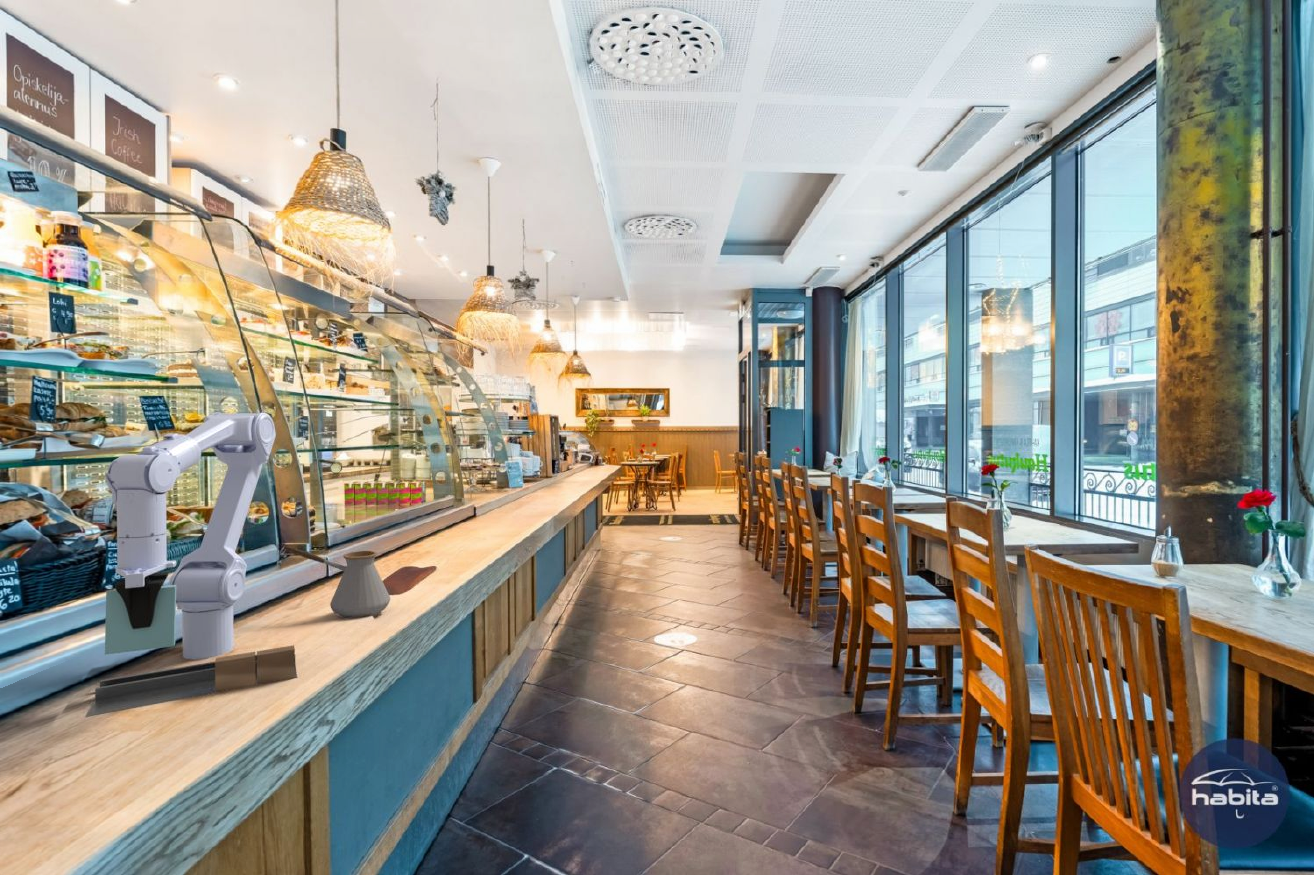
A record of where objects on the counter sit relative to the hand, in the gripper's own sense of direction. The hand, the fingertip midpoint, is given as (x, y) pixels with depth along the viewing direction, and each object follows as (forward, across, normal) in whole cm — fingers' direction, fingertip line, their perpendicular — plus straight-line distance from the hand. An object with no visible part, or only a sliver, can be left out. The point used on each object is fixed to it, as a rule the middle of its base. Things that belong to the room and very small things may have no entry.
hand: (142, 625), depth 95 cm
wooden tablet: (+10, +49, -45) cm, 68 cm away
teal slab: (+3, 0, 0) cm, 3 cm away
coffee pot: (+10, +27, -28) cm, 40 cm away
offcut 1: (+9, -6, -12) cm, 16 cm away
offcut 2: (+9, -6, -17) cm, 20 cm away
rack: (+10, -2, -7) cm, 13 cm away
